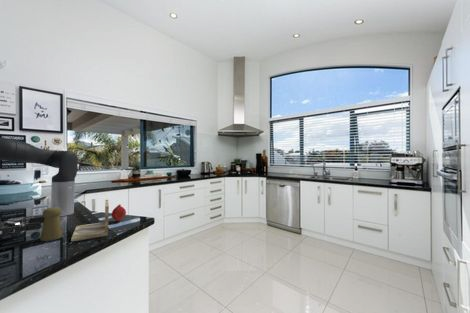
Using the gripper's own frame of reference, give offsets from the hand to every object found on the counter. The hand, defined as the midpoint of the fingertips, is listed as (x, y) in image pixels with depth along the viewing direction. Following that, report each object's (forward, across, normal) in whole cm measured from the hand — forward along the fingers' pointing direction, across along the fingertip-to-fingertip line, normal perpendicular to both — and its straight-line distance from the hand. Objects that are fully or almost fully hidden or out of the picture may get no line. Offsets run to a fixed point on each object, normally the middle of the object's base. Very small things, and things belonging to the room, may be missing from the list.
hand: (44, 222), depth 73 cm
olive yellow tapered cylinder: (+2, 0, +6) cm, 7 cm away
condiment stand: (+14, 0, +6) cm, 15 cm away
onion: (+24, +10, +6) cm, 27 cm away
